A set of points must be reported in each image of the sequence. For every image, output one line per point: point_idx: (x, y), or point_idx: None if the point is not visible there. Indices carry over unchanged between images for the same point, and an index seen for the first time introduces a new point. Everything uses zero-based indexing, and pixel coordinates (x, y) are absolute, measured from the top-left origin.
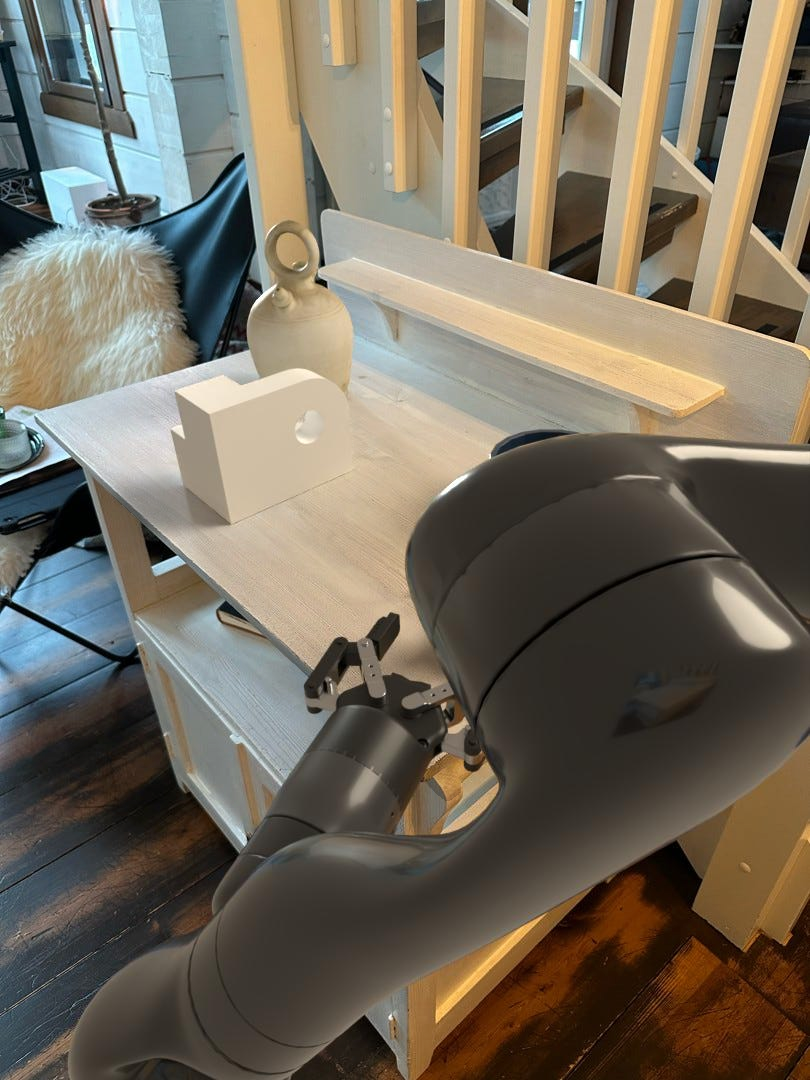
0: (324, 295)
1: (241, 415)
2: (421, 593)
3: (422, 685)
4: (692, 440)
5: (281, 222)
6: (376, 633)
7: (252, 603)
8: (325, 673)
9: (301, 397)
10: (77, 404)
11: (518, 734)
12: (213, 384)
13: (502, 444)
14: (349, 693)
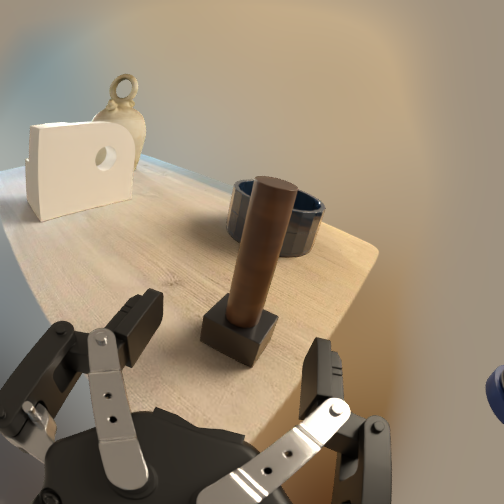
0: (134, 110)
1: (60, 135)
2: None
3: (227, 438)
4: None
5: (123, 74)
6: (124, 321)
7: (31, 278)
8: (25, 392)
9: (104, 134)
10: (5, 170)
11: None
12: (53, 123)
13: (241, 182)
14: (65, 452)
